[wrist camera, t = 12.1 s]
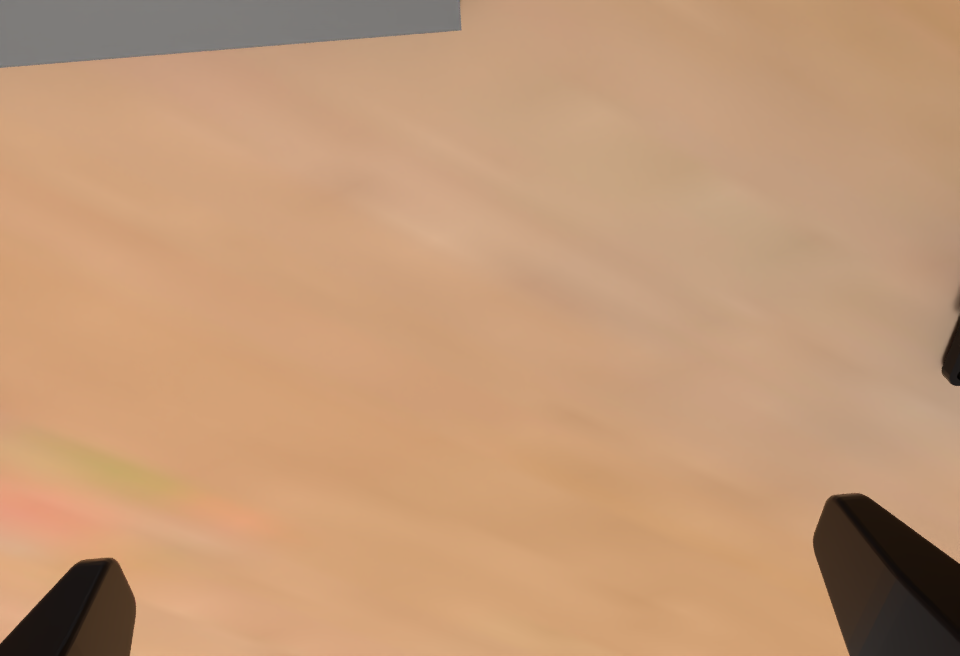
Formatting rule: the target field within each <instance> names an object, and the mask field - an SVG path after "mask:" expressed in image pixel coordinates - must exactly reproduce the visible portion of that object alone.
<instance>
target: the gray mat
mask: <svg viewBox="0 0 960 656" xmlns="http://www.w3.org/2000/svg"><path fill="white" fill-rule="evenodd" d="M459 30H461V15H460V0H0V68H3V67H15V66H28V65H40V64H52V63H64V62H77V61H89V60H101V59H114V58H126V57H138V56H151V55H163V54H175V53H188V52H200V51H212V50H225V49H237V48H249V47H262V46H274V45H286V44H299V43H311V42H323V41H336V40H348V39H360V38H373V37H385V36H397V35H410V34H422V33H434V32H447V31H459Z"/></svg>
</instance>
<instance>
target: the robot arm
mask: <svg viewBox="0 0 960 656" xmlns="http://www.w3.org/2000/svg"><path fill="white" fill-rule="evenodd" d="M942 374H943V376H944V377H945V378H946V379H947V380H948V381H949V382H950V383H951V384H952V385H954V386H960V326H959V328H958V331H957V333H956V335H955V338H954V340H953V343H952V345H951V348H950V350H949V353H948V355H947V357H946V360H945V362H944V365H943V367H942ZM813 547H814V552H815V556H816V559H817V562H818V565H819V568H820V570H821V573H822V576H823V579H824V582H825V585H826V588H827V591H828V594H829V597H830V600H831V603H832V606H833V609H834V612H835V615H836V618H837V621H838V623H839V626H840V629H841V632H842V635H843V638H844V641H845V644H846V647H847V650H848V652H849V655H850V656H960V564H959V563H958V562H956V561H955V560H954V559H952V558H951V557H949V556H948V555H947V554H945V553H944V552H943V551H941V550H940V549H939V548H937V547H936V546H934V545H933V544H932V543H930V542H929V541H928V540H926V539H925V538H924V537H922V536H921V535H919V534H918V533H917V532H915V531H914V530H913V529H911V528H910V527H909V526H907V525H906V524H904V523H903V522H902V521H900V520H899V519H898V518H896V517H895V516H893V515H892V514H891V513H889V512H888V511H887V510H885V509H884V508H883V507H881V506H880V505H878V504H877V503H876V502H874V501H873V500H872V499H870V498H869V497H867V496H865V495H863V494H860V493H851V494H840V495H833V496H831V497H830V498H828V499H827V501H826V503H825V506H824V508H823V511H822V514H821V516H820V519H819V522H818V524H817V527H816V530H815V532H814V537H813ZM135 617H136V602H135V598H134V595H133V593H132V590H131V588H130V586H129V584H128V582H127V580H126V578H125V575H124V573H123V571H122V569H121V567H120V565H119V563H118V562H117V561H116V560H115V559H113V558H98V559H86V560H82V561H80V562H78V563H76V564H75V565H74V566H73V567H72V568H71V569H70V570H69V571H68V572H67V573H66V574H65V575H64V576H63V577H62V578H61V579H60V580H59V581H58V583H57V584H56V585H55V586H54V587H53V588H52V589H51V590H50V591H49V592H48V593H47V594H46V595H45V596H44V598H43V599H42V600H41V601H40V602H39V603H38V604H37V605H36V606H35V607H34V608H33V609H32V610H31V611H30V613H29V614H28V615H27V616H26V617H25V618H24V619H23V620H22V621H21V622H20V623H19V624H18V625H17V626H16V628H15V629H14V630H13V631H12V632H11V633H10V634H9V635H8V636H7V637H6V638H5V639H4V640H3V641H2V643H1V644H0V656H130V650H131V644H132V637H133V630H134V624H135Z"/></svg>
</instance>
